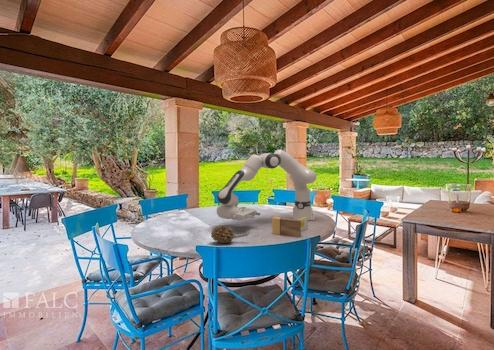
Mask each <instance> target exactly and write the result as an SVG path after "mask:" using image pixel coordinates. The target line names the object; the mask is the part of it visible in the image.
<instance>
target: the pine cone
mask: <svg viewBox="0 0 494 350" xmlns="http://www.w3.org/2000/svg"><path fill="white" fill-rule="evenodd" d="M249 234H250V232H246V233H243V234H239V235H236V234H235V233H234V231H233V229H232V228H231V227H226V226H225V225H218V226H215V227H214V228H213V229H211V235H210V237H211V239H212V240H214V241H215V242H217V243H222V244H225V243H226V244H232V243H231V242H232V240H234V239H236V238H237V239H238V238H243V237H247V236H249Z"/></svg>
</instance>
